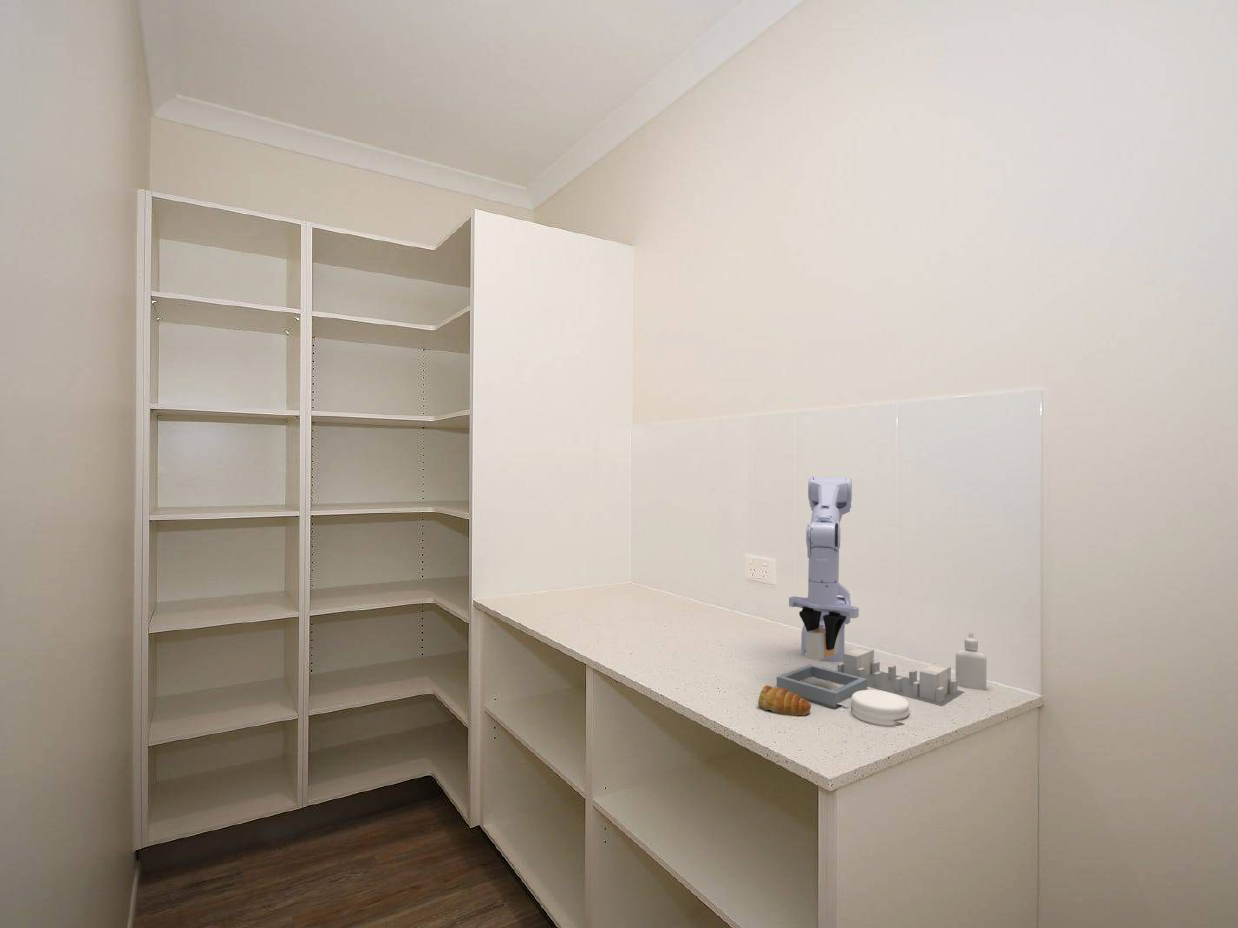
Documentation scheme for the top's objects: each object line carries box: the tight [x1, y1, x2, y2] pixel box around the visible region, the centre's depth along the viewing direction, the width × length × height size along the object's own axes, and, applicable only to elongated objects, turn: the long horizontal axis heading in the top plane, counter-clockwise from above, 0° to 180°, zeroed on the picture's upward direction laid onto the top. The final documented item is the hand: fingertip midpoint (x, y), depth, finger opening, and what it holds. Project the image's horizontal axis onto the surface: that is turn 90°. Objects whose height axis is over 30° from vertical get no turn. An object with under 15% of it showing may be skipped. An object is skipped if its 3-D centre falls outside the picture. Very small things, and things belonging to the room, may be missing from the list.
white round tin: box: [850, 689, 911, 727], centre depth 118 cm, size 10×10×4 cm
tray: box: [776, 664, 868, 710], centre depth 130 cm, size 13×13×3 cm
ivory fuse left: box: [842, 646, 875, 676], centre depth 139 cm, size 3×8×5 cm, turn 133°
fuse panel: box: [836, 660, 965, 707], centre depth 133 cm, size 23×12×4 cm, turn 43°
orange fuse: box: [804, 626, 839, 661], centre depth 130 cm, size 3×8×5 cm, turn 133°
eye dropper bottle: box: [955, 632, 988, 691], centre depth 132 cm, size 4×6×12 cm
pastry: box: [757, 684, 812, 717], centre depth 121 cm, size 9×7×4 cm
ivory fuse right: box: [919, 663, 952, 701], centre depth 127 cm, size 3×8×5 cm, turn 133°
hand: (822, 647), depth 130 cm, fingers closed on orange fuse, 3 cm apart
